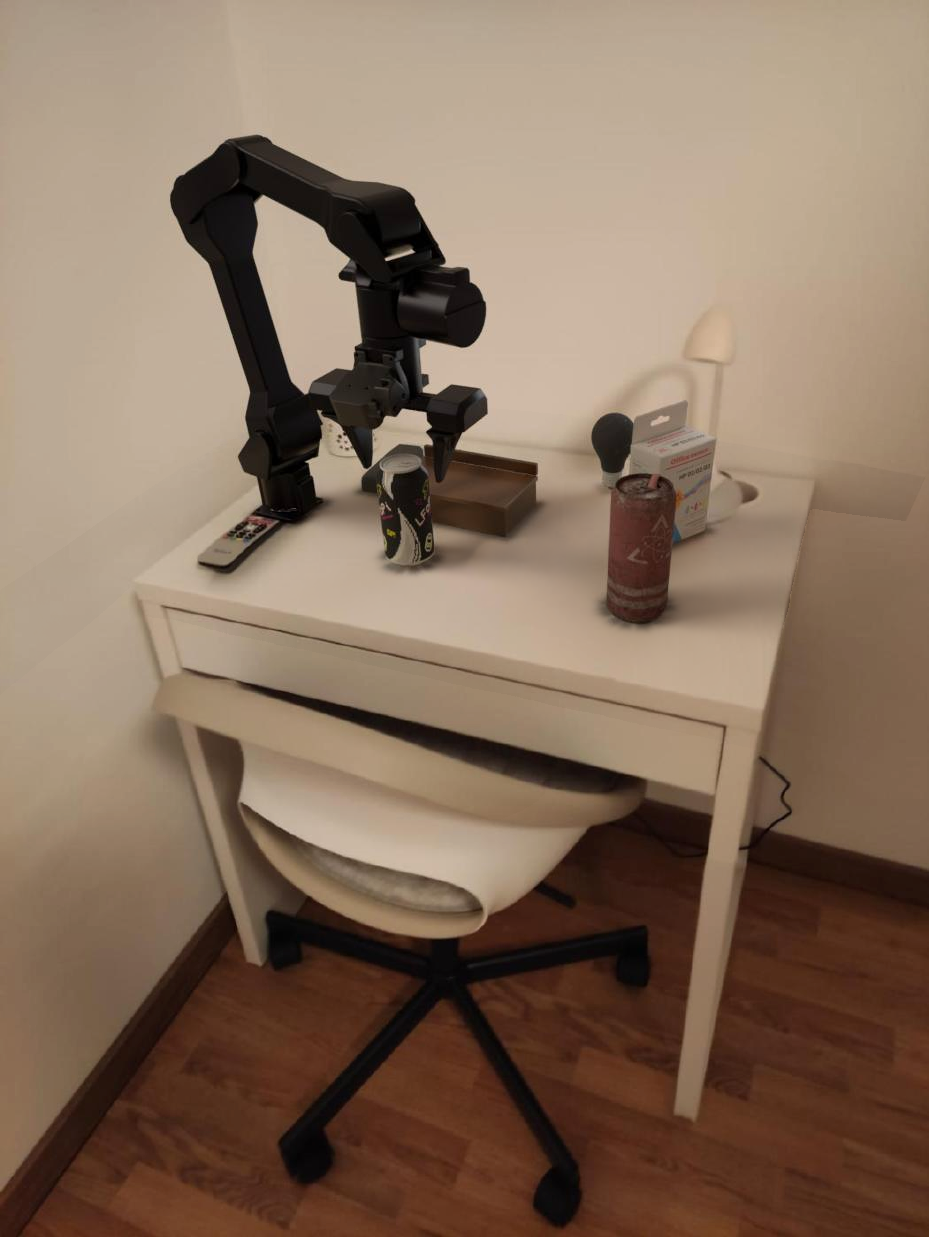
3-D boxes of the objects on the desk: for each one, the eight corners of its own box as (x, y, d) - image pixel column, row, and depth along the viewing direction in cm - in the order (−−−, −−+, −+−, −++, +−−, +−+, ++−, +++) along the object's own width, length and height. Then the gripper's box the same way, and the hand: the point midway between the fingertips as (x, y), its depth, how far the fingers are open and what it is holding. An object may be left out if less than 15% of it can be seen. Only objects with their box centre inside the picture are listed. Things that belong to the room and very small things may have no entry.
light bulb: (640, 483, 114) (645, 409, 109) (622, 501, 110) (626, 425, 105) (601, 475, 117) (603, 403, 111) (582, 492, 113) (584, 418, 107)
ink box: (653, 553, 99) (663, 430, 91) (623, 537, 103) (630, 416, 95) (707, 530, 103) (721, 410, 95) (676, 515, 107) (687, 397, 98)
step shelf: (389, 513, 111) (384, 473, 108) (427, 482, 118) (424, 443, 115) (506, 538, 104) (504, 496, 101) (539, 503, 111) (539, 463, 108)
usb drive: (361, 491, 117) (359, 472, 115) (400, 455, 126) (399, 437, 124) (397, 496, 115) (395, 477, 113) (434, 459, 124) (432, 441, 122)
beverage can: (420, 574, 99) (411, 476, 92) (376, 565, 101) (364, 468, 94) (443, 550, 103) (435, 454, 96) (400, 541, 105) (390, 448, 98)
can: (673, 596, 92) (684, 474, 84) (657, 629, 87) (668, 503, 79) (616, 586, 94) (623, 465, 86) (598, 617, 90) (603, 493, 82)
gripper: (263, 345, 85) (289, 490, 94) (430, 367, 77) (441, 523, 86) (330, 313, 93) (348, 450, 102) (487, 330, 85) (492, 477, 94)
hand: (403, 474), depth 96 cm, fingers open, 9 cm apart
